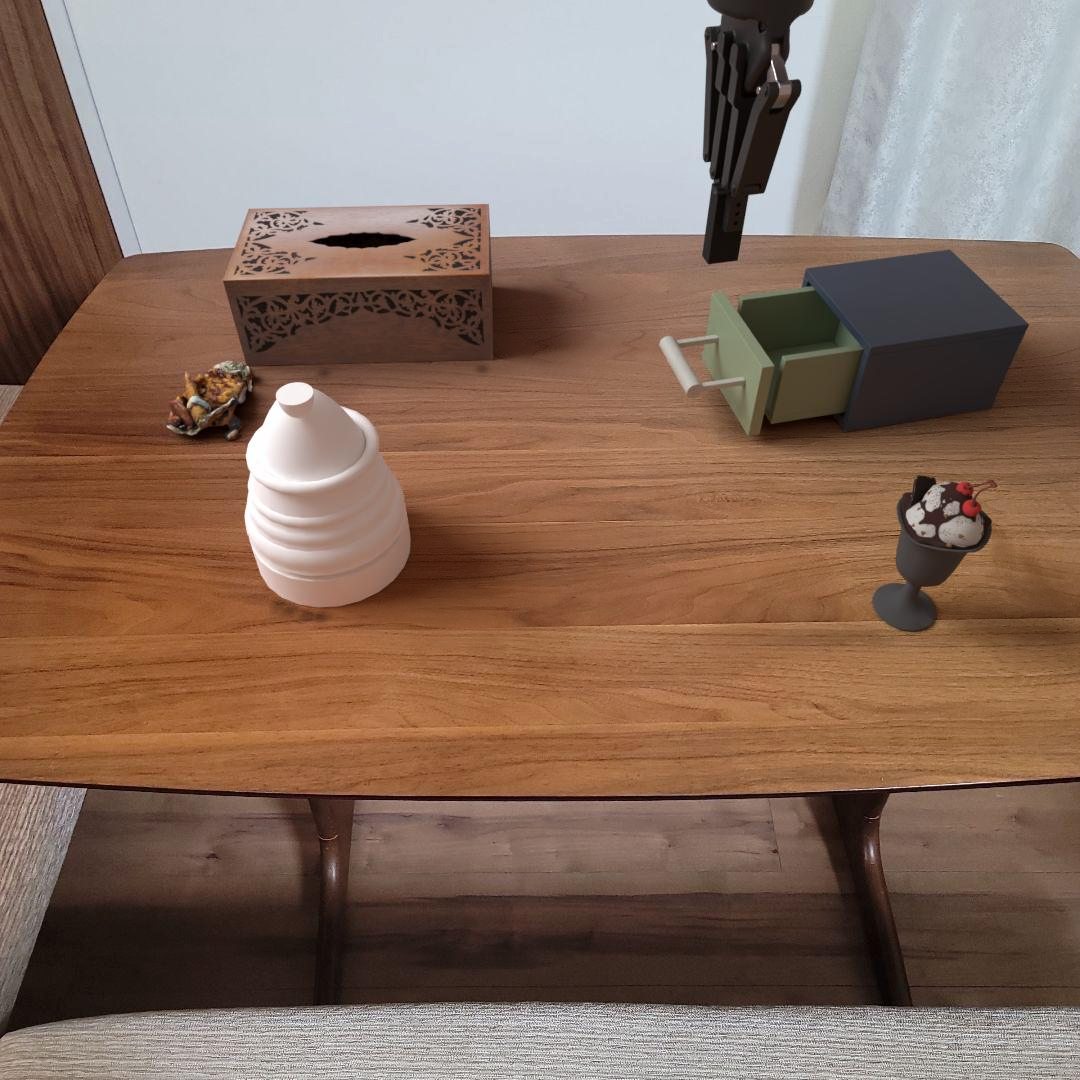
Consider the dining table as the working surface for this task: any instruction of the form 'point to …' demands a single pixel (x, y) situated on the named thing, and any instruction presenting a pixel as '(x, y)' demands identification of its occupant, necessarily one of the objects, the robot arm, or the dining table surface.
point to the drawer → (772, 357)
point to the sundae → (931, 547)
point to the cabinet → (919, 336)
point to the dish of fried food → (211, 400)
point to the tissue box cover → (363, 284)
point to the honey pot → (323, 502)
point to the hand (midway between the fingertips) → (719, 257)
